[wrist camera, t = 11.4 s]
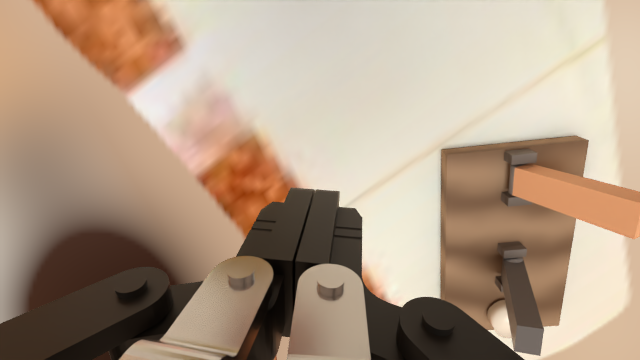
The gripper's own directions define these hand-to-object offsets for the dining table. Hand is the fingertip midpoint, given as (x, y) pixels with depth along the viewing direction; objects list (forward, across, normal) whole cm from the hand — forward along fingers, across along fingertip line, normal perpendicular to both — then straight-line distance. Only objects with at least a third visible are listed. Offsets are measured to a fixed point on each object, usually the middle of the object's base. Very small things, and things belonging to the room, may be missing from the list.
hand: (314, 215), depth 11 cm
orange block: (+25, -18, +9) cm, 32 cm away
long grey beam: (+24, -20, +20) cm, 37 cm away
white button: (+25, -21, +26) cm, 42 cm away
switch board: (+28, -19, +18) cm, 38 cm away
